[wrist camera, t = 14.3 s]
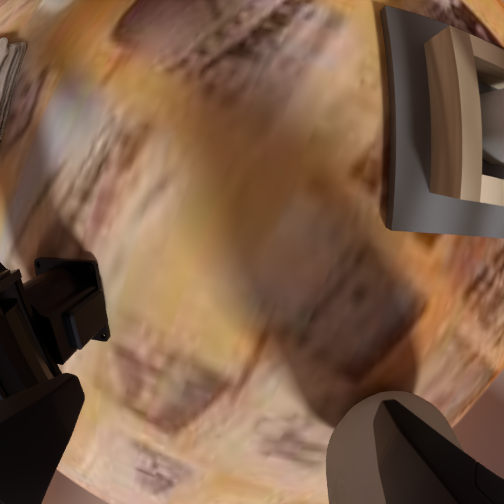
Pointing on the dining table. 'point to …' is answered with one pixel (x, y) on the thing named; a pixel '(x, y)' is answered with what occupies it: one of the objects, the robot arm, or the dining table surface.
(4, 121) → the washcloth
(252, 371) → the dining table surface
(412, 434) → the robot arm
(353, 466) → the grey bottle
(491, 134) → the beverage can
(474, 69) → the can collar
